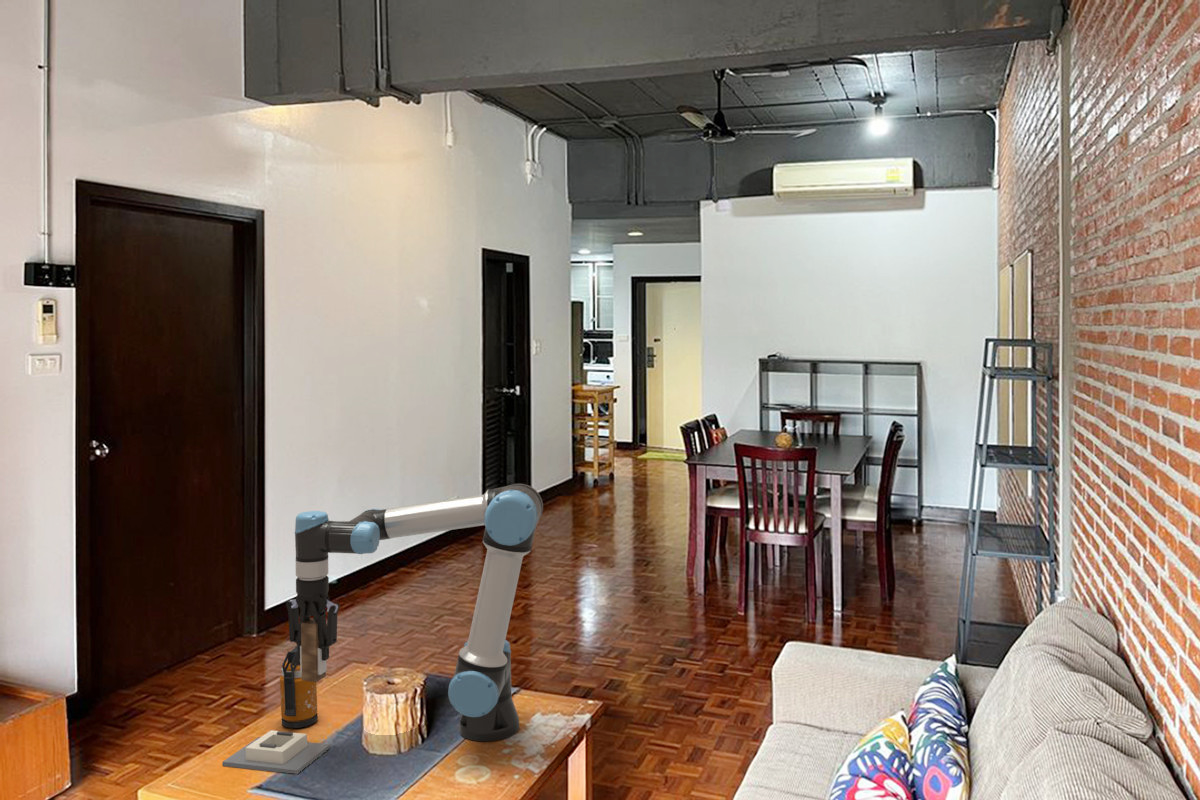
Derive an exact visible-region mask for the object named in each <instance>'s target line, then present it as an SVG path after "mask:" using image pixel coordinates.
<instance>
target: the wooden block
mask: <svg viewBox="0 0 1200 800" xmlns="http://www.w3.org/2000/svg"><path fill="white" fill-rule="evenodd" d="M319 646H320V642H319V637H318V624H316V621H315V620H314V618H311V617H310V620H308V621H306V622H302V623H301V656H302V680H303V681H311V682H316V683H317V682H319V681H321V680H322V679H324V678H325V677H326V676H327V673H326V672H327V671H326V672H324V673H323V674H321V675H318V648H319Z"/></svg>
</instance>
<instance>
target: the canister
mask: <svg viewBox="0 0 1200 800" xmlns="http://www.w3.org/2000/svg"><path fill="white" fill-rule="evenodd" d="M279 689H280V690H279V691H280V712H281V713H280V715H281V725H282V726H284V727H285V728H292V729H298V728H299V729H300V728H304V727H305V728H306V727H308V726H310V725H312V724H314V723H316V721H318V720H319V719H318V718H319V717H318V715H319V713H318V695H317V694H318V690H317V682H311V681H303V680H302V673H300V658H298V650H297V645H296V646H294V648H293V649H292V650H290V651H287V653H286V655H285V658H284V660H283V661H282V665H281V675H280V677H279Z"/></svg>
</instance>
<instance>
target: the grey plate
mask: <svg viewBox="0 0 1200 800" xmlns="http://www.w3.org/2000/svg"><path fill="white" fill-rule="evenodd" d="M329 748H330V749H331V744H328V743H322V742H321V743H318V742H310V741H308V734H307V733H302V732H301V733H300V732H292V731H291V732H290V731H281V730H269V731H267V733H265V734H263V735H262V736H258V737H256V738H255V739H253V740H252V741H250V742H249V743H248V744H246V745H245V746H243V747H242V748H240V749H238V750H237V751H236V752H235V753H233V754H231V755H229V757H227V758H225V759H224V760H223V761H222V763H221V764H222V767H228V768H229V767H230V768H237V769H248V770H253V771H254V770H255V771H265V772H272V773H273V772H274V773H279V772H287V773H286V774H288V773H295V774H294V775H296V774H298V773H299V772H300V771H301V772H302V770H303V769H304V768H305V767H306V768H308V767H309V766H310V765H312V762H313V761H314V760H315V759H316V760H318V759H319V758H320V757H322V756H323V755H324V754H325V753H326V752H327V751H326V750H328V749H329ZM330 749H329V750H330ZM329 750H328V751H329ZM324 752H325V753H324ZM323 753H324V754H323ZM322 754H323V755H322ZM318 757H319V758H318ZM317 758H318V759H317ZM316 760H315V761H316ZM315 761H314V762H315ZM314 762H313V763H314ZM309 764H310V765H309ZM308 765H309V766H308ZM307 766H308V767H307ZM306 768H305V769H306ZM305 769H304V770H305ZM304 770H303V771H304ZM301 772H300V773H301ZM300 773H299V774H300ZM299 774H298V775H299Z"/></svg>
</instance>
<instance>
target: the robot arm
mask: <svg viewBox="0 0 1200 800" xmlns="http://www.w3.org/2000/svg"><path fill="white" fill-rule="evenodd" d="M543 512H544V503H543V499H542V497H541V495H540V493H539V492H538V491H537V490H536V489H535V488H533V487H532V486H531V485H528V484H525V483H514V484H509V485H506V486H502V487H496V488H490V489H487V490H486V491H485V492H484V494H479V495H471V496H464V497H458V498H451V499H446V500H445V499H444V500H439V501H430V502H425V503H418V504H417V503H416V504H411V505H404V506H398V507H396V506H395V507H390V508H386V509H383V508H382V509H379V508H371V509H367V510H364V511H362V512H361V513H360V514H359V515H357V516H356V517H354V518H352V519H351V520H349V521H348V520H347V521H345V520H344V521H342V520H341V521H338V520H337V521H336V520H335V521H334V520H330V519H329V516H328V515H329V514H328V513H327V512H325V511H320V510H310V511H309V510H308V511H303V512H300V513H298V514H297V515H296V517H295V522H294V523H295V525H294V526H295V528H294V541H295V576H296V577H297V578H296V579H295V593H296V597H295V598H293V599H291V600H288V601H286V602H285V606H286V609H287V612H288V632H289V642H291V643H294V644H295V645H296V646H297V650H298V658H300V673H302V656H301V623H302V622H306V621H308V620H310V618H311V617H313V618H312V619H314V620H315V621H316V624H318V637H319V642H320V646H319V648H318V675H321V674H323V673H324V672H327V671H328V670H327V661H328V660H329V658H330V647H331V646H333V645H334V644H336V643H337V642H338V641H337V639H338V638H337V637H338V612H339V609H340V606H341V605H340V604H339V602H337V603H334V602H332V601H330V597H329V591H330V589H329V588H330V586H329V585H330V584H329V582H330V581H329V580H330V579H329V578H330V577H329V576H328V575H329V553H330V554H357V555H363V554H374V553H375V552H376V551H377V550H378V547H379V546H380V541H383V540H390V539H395V538H397V539H398V538H402V537H410V536H416V535H423V534H425V535H426V534H430V533H439V532H445V531H452V530H458V529H459V530H460V529H467V528H474V527H480V526H485V528H484V532H483V537H482V543H483V545H484V546H485V548H486V549H487V550H486V555H485V559H484V564H483V569H482V573H481V578H480V583H479V588H478V592H477V598H476V602H475V606H474V611H473V616H472V622H471V625H470V629H469V635H468V639H467V641H466V642H464V644H463V647H462V648H460V650H459V652H458V656H457V661H456V665H455V669H454V675H453V677H452V678H451V680H450V682H449V684H448V692H447V695H448V700H449V702H450V705H452V707H453V708H454V710H455V711H456V712H458V713H459V714H460V719H459V722H458V723H459V724H458V726H459V727H458V728H459V734H460V735H461V736H462V737H463V738H465V739H467V740H470V741H475V742H495V741H501V740H504V739H507V738H509V737H512V736H514V735H515V734H516V733H517V732H518V731H519V729H520V717H519V715H518V712H517V709H516V706H515V703H514V701H513V697H512V695H513V694H512V668H511V667H512V666H511V665H512V664H511V663H512V661H511V660H512V659H511V654H512V650H511V644H510V642H509V641H508V640H507V639H506V638H507V633H508V629H509V624H510V619H511V613H512V611H513V610H512V609H513V605H514V601H515V597H516V591H517V587H518V582H519V578H520V572H521V568H522V563H523V559H524V556H525V557H526V555H528V554H529V553H530V552H531V551H532V547H533V543H534V538H535V534H536V528H537V524H538V523H539V522H540V520H541V518H542V515H543ZM299 609H300V611H299ZM326 609H327V610H326ZM299 612H300V613H299ZM326 612H327V613H326ZM326 617H327V618H326Z"/></svg>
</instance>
